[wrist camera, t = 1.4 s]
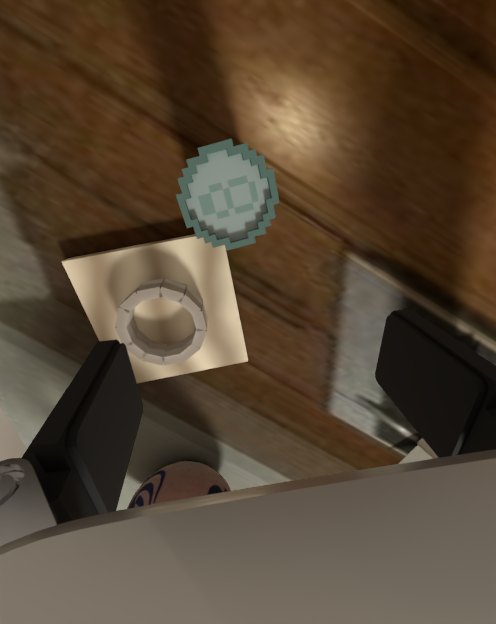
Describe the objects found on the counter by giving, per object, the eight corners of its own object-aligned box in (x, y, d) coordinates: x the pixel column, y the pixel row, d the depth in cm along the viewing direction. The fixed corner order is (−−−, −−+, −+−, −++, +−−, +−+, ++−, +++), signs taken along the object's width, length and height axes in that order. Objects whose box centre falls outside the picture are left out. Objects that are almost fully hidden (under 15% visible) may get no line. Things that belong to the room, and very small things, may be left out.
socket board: (221, 229, 32) (222, 236, 28) (247, 354, 40) (250, 374, 36) (68, 258, 32) (46, 269, 28) (124, 379, 40) (113, 402, 36)
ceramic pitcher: (248, 488, 54) (271, 711, 31) (149, 523, 55) (103, 760, 33) (210, 430, 46) (205, 670, 23) (96, 472, 47) (-11, 735, 25)
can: (187, 167, 29) (163, 157, 16) (242, 152, 29) (265, 129, 16) (204, 225, 32) (197, 258, 19) (255, 211, 32) (285, 234, 18)
